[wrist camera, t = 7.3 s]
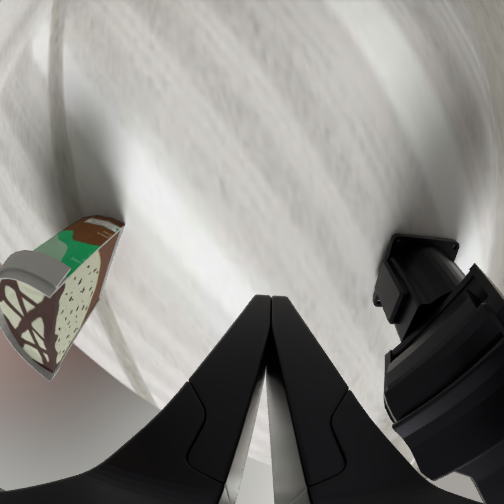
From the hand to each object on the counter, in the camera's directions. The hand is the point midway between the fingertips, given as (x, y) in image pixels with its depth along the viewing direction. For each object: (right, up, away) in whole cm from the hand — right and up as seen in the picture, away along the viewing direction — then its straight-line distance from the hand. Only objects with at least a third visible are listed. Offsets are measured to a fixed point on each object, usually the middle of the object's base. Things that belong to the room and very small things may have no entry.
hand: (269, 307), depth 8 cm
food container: (-15, +2, +14) cm, 21 cm away
